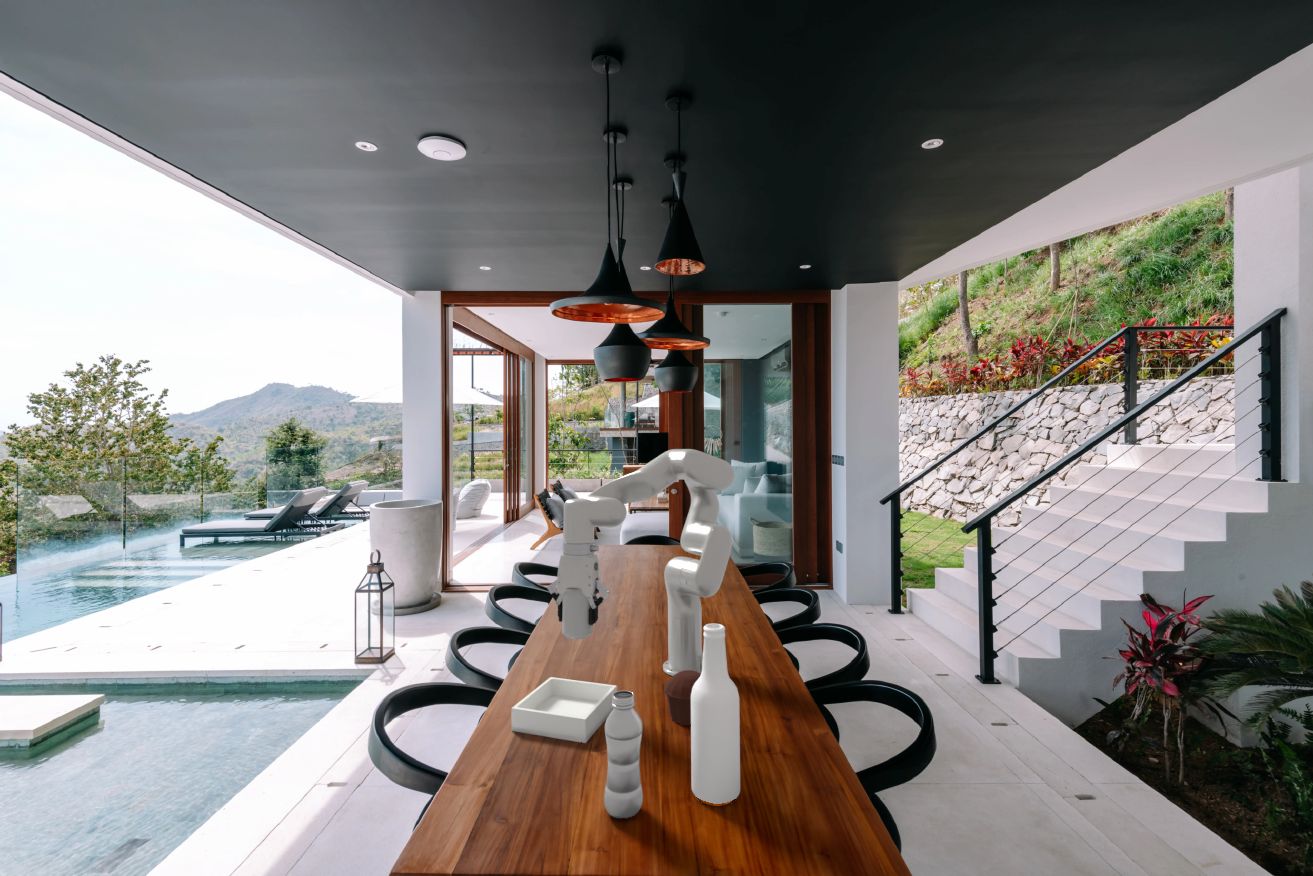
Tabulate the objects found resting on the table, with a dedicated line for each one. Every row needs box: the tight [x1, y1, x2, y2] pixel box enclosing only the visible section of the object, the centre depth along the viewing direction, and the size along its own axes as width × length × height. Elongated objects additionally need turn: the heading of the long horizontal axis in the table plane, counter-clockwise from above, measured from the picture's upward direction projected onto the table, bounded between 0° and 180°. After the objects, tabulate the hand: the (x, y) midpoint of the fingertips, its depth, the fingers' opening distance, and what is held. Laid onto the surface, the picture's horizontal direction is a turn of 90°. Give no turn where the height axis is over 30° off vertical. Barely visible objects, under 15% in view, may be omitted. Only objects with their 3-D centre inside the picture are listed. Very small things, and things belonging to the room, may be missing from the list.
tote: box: [510, 676, 618, 744], centre depth 131 cm, size 18×18×5 cm
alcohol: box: [690, 623, 741, 804], centre depth 102 cm, size 9×9×30 cm
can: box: [561, 588, 594, 640], centre depth 138 cm, size 8×8×12 cm
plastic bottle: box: [603, 690, 644, 820], centre depth 97 cm, size 6×7×20 cm
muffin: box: [663, 670, 701, 726], centre depth 132 cm, size 12×11×10 cm
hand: (577, 621), depth 138 cm, fingers closed on can, 7 cm apart
